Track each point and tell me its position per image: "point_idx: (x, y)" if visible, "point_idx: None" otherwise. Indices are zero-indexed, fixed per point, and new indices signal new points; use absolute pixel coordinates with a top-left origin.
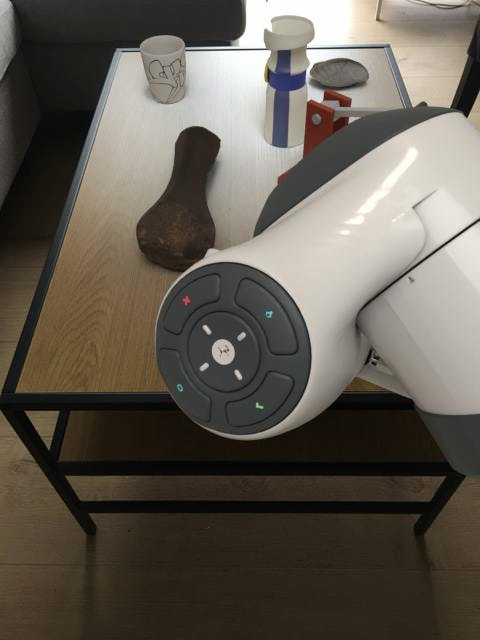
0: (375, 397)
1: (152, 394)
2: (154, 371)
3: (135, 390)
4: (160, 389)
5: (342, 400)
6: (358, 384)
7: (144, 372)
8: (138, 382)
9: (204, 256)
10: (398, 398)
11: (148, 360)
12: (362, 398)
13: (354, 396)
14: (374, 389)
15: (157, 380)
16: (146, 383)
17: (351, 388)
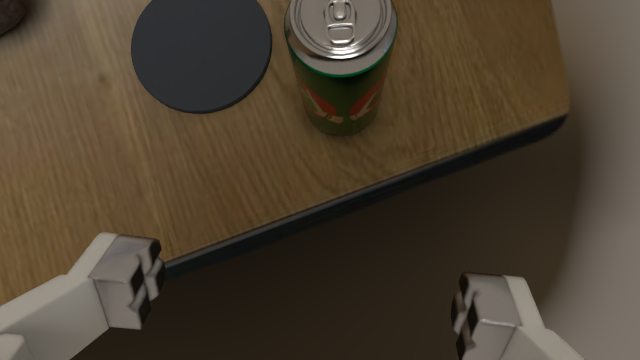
0: (413, 183)
1: None
2: (23, 270)
3: None
4: None
5: (360, 209)
6: (378, 167)
7: (6, 279)
8: (3, 303)
9: (1, 4)
10: (452, 170)
11: (4, 252)
12: (392, 193)
13: (378, 194)
14: (407, 167)
15: (34, 286)
16: None
17: (369, 180)
